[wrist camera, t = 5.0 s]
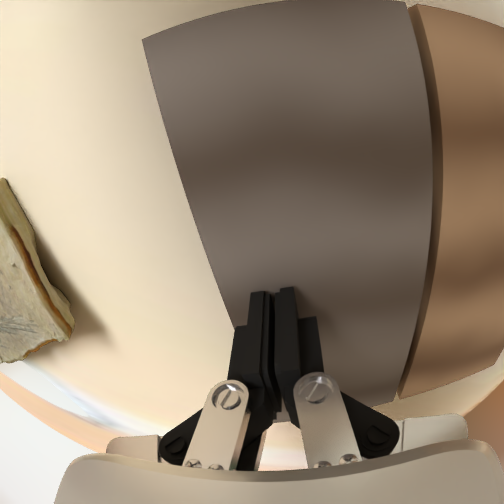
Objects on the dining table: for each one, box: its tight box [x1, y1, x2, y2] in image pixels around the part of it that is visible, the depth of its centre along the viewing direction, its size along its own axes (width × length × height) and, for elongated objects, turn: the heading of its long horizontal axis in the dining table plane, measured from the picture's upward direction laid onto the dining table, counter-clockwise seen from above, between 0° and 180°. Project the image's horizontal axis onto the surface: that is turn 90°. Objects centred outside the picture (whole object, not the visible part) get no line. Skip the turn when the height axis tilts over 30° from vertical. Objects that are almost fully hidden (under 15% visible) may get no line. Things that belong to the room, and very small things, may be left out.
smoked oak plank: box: [142, 0, 433, 423], centre depth 12 cm, size 22×9×2 cm, turn 13°
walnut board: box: [397, 4, 504, 399], centre depth 10 cm, size 22×9×2 cm, turn 13°
